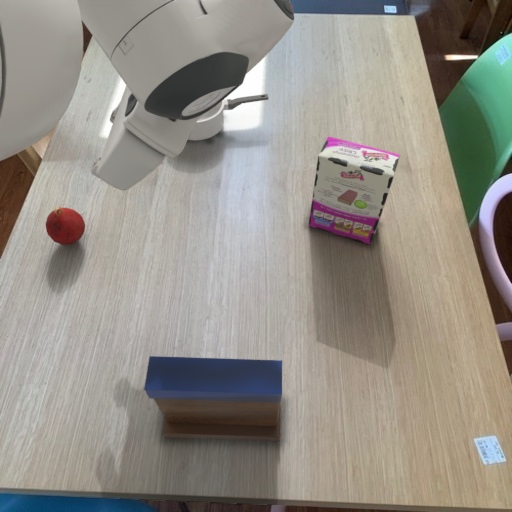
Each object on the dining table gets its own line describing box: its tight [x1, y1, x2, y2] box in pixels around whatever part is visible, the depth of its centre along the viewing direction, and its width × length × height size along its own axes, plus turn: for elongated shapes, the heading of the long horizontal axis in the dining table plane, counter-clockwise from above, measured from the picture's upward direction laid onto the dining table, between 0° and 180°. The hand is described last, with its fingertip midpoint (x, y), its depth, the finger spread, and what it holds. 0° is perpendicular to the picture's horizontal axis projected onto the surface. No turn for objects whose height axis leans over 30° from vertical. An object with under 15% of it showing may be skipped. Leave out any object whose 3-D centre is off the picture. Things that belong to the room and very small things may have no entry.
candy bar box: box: [308, 135, 401, 245], centre depth 75 cm, size 11×5×16 cm, turn 68°
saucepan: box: [187, 93, 269, 141], centre depth 94 cm, size 12×20×6 cm, turn 99°
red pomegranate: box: [45, 206, 86, 246], centre depth 76 cm, size 6×6×8 cm
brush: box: [143, 355, 283, 442], centre depth 56 cm, size 5×15×17 cm, turn 88°
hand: (106, 145), depth 61 cm, fingers open, 8 cm apart
